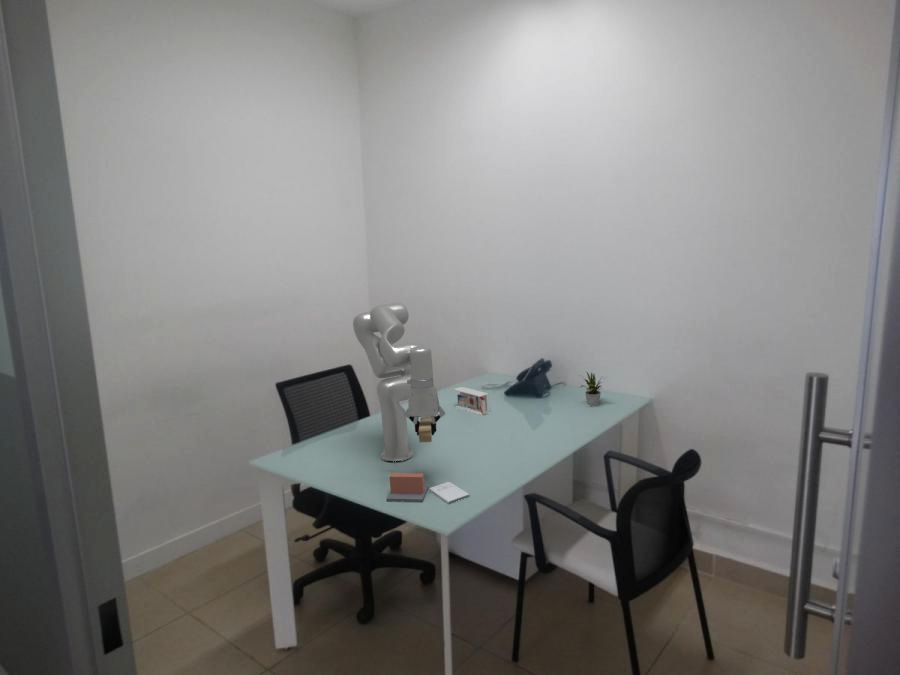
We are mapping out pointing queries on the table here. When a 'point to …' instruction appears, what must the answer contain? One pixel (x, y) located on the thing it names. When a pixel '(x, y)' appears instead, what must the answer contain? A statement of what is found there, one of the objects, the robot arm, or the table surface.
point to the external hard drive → (449, 492)
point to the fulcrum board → (408, 496)
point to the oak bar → (425, 430)
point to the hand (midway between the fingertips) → (426, 433)
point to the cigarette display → (473, 400)
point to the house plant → (592, 391)
